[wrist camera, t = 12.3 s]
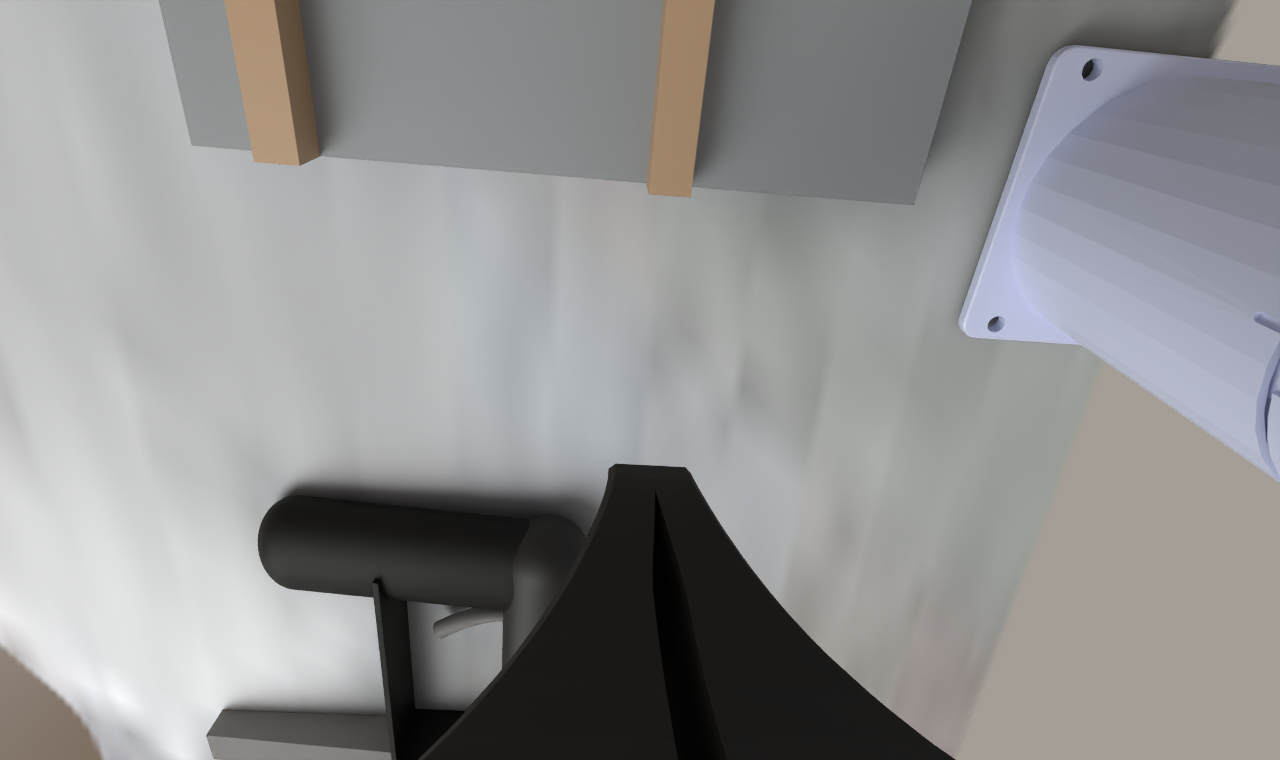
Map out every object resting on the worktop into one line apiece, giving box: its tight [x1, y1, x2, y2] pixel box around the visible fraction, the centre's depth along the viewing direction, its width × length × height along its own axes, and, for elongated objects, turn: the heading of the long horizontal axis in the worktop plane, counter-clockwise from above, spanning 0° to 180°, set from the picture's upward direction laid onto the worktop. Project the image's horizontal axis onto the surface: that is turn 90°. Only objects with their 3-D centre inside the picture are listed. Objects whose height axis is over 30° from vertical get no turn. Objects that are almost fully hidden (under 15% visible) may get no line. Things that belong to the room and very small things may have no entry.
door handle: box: [206, 496, 586, 760], centre depth 27 cm, size 3×20×16 cm
